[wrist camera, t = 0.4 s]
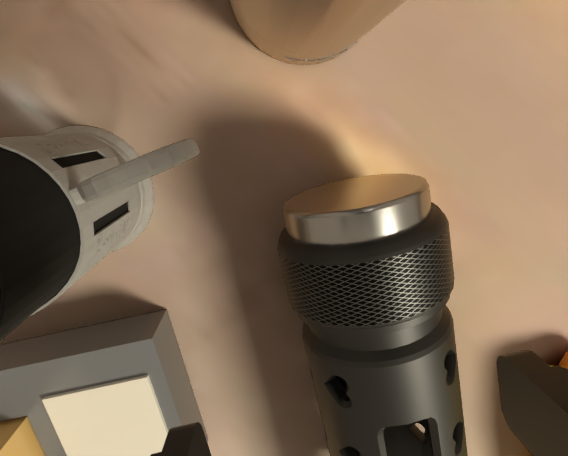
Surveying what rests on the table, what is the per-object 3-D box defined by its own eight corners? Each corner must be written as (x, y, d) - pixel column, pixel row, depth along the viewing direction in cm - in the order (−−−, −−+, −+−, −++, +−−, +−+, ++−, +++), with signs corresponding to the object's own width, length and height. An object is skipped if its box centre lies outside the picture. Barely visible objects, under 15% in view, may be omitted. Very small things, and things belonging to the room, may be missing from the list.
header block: (-46, 354, 29) (-97, 394, 25) (166, 309, 29) (150, 340, 25) (17, 479, 32) (-19, 532, 28) (208, 438, 32) (200, 485, 28)
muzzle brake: (337, 495, 35) (367, 646, 25) (266, 192, 27) (270, 233, 17) (441, 472, 35) (514, 614, 25) (400, 162, 27) (482, 186, 17)
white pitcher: (-8, 156, 25) (-368, 203, 11) (193, 70, 25) (95, -4, 10) (63, 272, 28) (-155, 438, 13) (248, 196, 27) (232, 284, 12)
